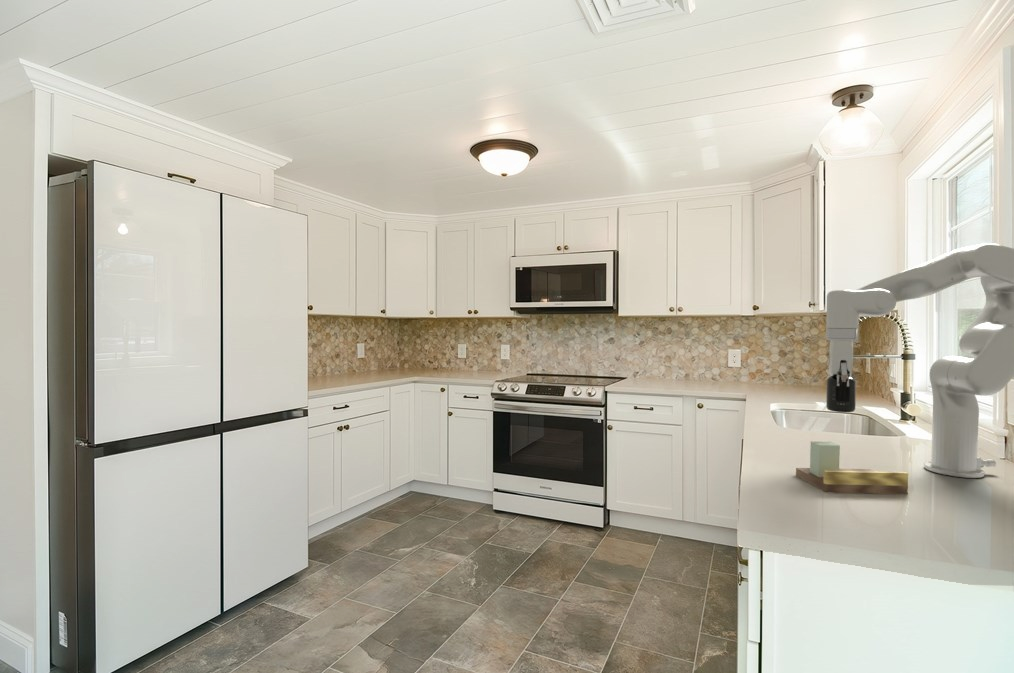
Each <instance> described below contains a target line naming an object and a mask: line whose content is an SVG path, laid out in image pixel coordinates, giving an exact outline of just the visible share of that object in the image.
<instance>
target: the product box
mask: <svg viewBox="0 0 1014 673" xmlns="http://www.w3.org/2000/svg"><path fill="white" fill-rule="evenodd" d="M840 446H841V445H839V444H837V443H834V442H832V441H810V451H809V452H810V454H809V455H810V457H809V468H810V473H812V474H814V475H816V476H818V477H824V471H839V469H840V457H841V456H840V455H841V454H840V452H841V451H840V449H841V448H840Z"/></svg>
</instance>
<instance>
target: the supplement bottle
mask: <svg viewBox="0 0 1014 673" xmlns="http://www.w3.org/2000/svg"><path fill="white" fill-rule="evenodd" d="M849 374H850V371H849ZM838 375H841V374H838ZM835 386H837V377H836V374H834V376H831V375H830V376H829V377H827V378H826V409H827V410H828V411H831V412H837V413H838V412H839V413H852V412H855V411H856V402H857V401H856V400H857V399H856V396H857V395H856V393H857V392H856V389H857V388H856V387H857V381H856V380H855V378H854V377H853V376H852V375H851V376H850V377H849V387H850V397H849V402H843V401H836V400H835Z"/></svg>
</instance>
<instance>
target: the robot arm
mask: <svg viewBox="0 0 1014 673" xmlns="http://www.w3.org/2000/svg"><path fill="white" fill-rule="evenodd" d="M973 278H980V284H981V286H982V289H983V291H984V295H985V305H984V306H983V307H982V309H981V311H980V313H979V314H978V315H977V316H976V317H975V319H974V320H973V321H972V323H971V324H970V325H969V326H968V328H967V329H966V330H965V331H964V332H963V334H962V336H961V338H960V340H959V342H958V345H959V350H961V352H962V353H963V354H965V355H966V356H959V355H958V356H957V355H948V356H944V357H941V358H939V359H937V360H935V361H934V362H933V363H932V365H931V367H930V369H929V381H930V386H931V390H932V391H931V392H932V419H931V420H932V425H931V427H932V428H931V456H930V457H931V459H930V461H926V462H924V463H923V468H924V469H926V470H928V471H930V472H933V473H936V474H940V475H945V476H950V477H957V478H965V479H966V478H968V479H977V478H979V479H980V478H983V477H985V471H984V470H983V469H982V468H984V467H987V468H988V467H989V468H990V467H992V468H993V467H996V465H997V462H996V460H994V459H982V457H979V456H978V445H979V443H978V442H979V418H980V417H979V416H980V407H979V402H978V399H977V397H976V396H981V397H982V396H983V397H987V396H992V395H995V394H997V393H998V392H1000V391H1001V390H1003V389H1004V388H1005V387H1006V386H1007V385H1008V383H1009V382H1010V381H1011V380H1012V379H1013V377H1014V248H1012V247H1009V246H1005V245H1002V244H997V243H981V244H976V245H975V244H974V245H970V246H965V247H961V248H956V249H954V250H952V251H950V252H947V253H944V254H942V255H940V256H938V257H936V258H934V259H931V260H929V261H926V262H924V263H921V264H919V265H917V266H914V267H912V268H909V269H906V270H903V271H901V272H897V273H896V274H893V275H890V276H888V277H885V278H884V277H883V278H882V279H879V280H876V281H873V282H872V283H869V284H867V285H864V286H863V287H860V288H857V289H856V290H853V289H835V290H831V291H828V293H827V295H826V315H825V316H826V317H825V318H826V320H825V321H826V326H825V327H826V329H825V340H826V341H829V348H828V350H829V351H828V352H829V354H828V372H827V373H828V374H829V375H830V376H834V374H836V377H837V386H835V400H836V401H843V402H849V397H850V387H849V377H850V376H851V377H852V374H853V365H854V341H855V342H856V341H857V342H858V341H859V330H860V329H859V323H860V321H859V318H862V317H869V318H872V317H873V318H877V317H883V316H886V315H888V314H890V313H892V312H893V311H894V309H895V308H896V306H897V303H898V302H904V301H907V300H908V301H909V300H910V301H911V300H916V299H920V298H921V299H922V298H924V297H928V296H931V295H934V294H936V293H939V292H942V291H943V290H946V289H948V288H951V287H953V286H955V285H958V284H960V283H963V282H966V281H967V280H970V279H973ZM849 371H850V374H849ZM838 374H841V375H838Z"/></svg>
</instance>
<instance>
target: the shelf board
mask: <svg viewBox="0 0 1014 673" xmlns="http://www.w3.org/2000/svg"><path fill="white" fill-rule="evenodd" d="M796 475H797V476H796ZM795 476H796V477H798V478H800V479H802V480H803V479H804V480H803V481H805V482H806V483H808V482H809V484H811V485H812V486H814V487H815V488H817V489H819V490H820V489H821V491H822V492H824V493H826V492H834V494H835V493H836V494H837V493H838V494H840V493H841V494H879V495H880V494H882V495H884V494H885V495H886V494H887V495H897V494H898V495H908V494H909V493H908V492H909V473H908V472H906V471H875V470H873V469H870V468H839V471H824V477H818V476H816V475H814V474H812V473H810V467H796V468H795Z"/></svg>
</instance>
